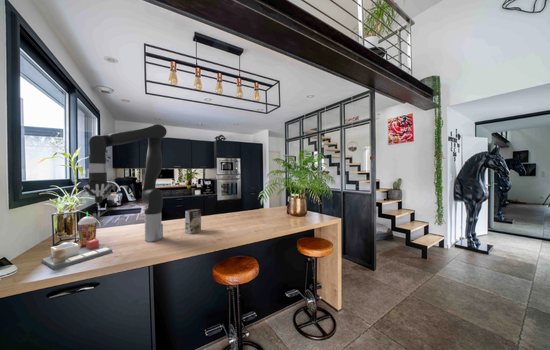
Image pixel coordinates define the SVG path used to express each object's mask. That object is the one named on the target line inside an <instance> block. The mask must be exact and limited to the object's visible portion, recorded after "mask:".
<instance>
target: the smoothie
mask: <svg viewBox="0 0 550 350" xmlns="http://www.w3.org/2000/svg"><path fill="white" fill-rule="evenodd" d="M97 222H98V221H97V220H96V218H94V217H93V216H90V215H89V212H88V211H86V216H84V217H82V218H81V219H79V221H78V223H77V229H78V237H79V239H78V240H79V245H81V247H86V241H90V240H94V239H96V237H97Z"/></svg>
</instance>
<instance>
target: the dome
mask: <svg viewBox="0 0 550 350" xmlns="http://www.w3.org/2000/svg"><path fill="white" fill-rule="evenodd" d="M57 246H58V245H57ZM70 246H73V244H72V243H71V242H70V241H69V242H68V241H67V242H66V241H65V242H61V243H60V244H59V246H58V247H57V249H58V248H66V247H70Z"/></svg>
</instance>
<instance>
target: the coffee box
mask: <svg viewBox="0 0 550 350" xmlns="http://www.w3.org/2000/svg"><path fill="white" fill-rule="evenodd" d="M184 213H185V214H184V215H185V217H184V218H185V219H184V221H185V222H184V223H185V224H184V229H185V230H184V231H185V233H186V234H188V235H192V234H195V233H200V232H201V231H202V209H200V208H198V209H197V208H195V209H188V210H185V212H184Z"/></svg>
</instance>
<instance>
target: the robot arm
mask: <svg viewBox="0 0 550 350" xmlns="http://www.w3.org/2000/svg"><path fill="white" fill-rule="evenodd" d="M167 131H168V130H167V128H166V127H165V126H164V125H162V124H161V123H160V124H159V123H157V124H153V125H151V126H148V127H143V128H139V129H134V130H133V129H132V130H131V129H130V130H126V131H125V130H124V131H118V132H112V133H109V134H104V135H103V134H102V135H99V134H95V135H92V136H90V137H89V139H88V140H87V141H88V142H87V143H88V146H89V155H88V183H87V185H85V186H83V187H82V189H83V190H84V191H85V192H86V193H87V194H88V195H90V196H92V197H94V202H95V203H96V204H101V203H102V202H103V196H106V195H107V194H108V193H109V192H110V191H111V190H112V188H113V185H111V184H109V182H108V166H107V155H106V153H107V148H109V147H113V146H120V145H125V144H130V143H133V142H138V141H142V140H145V139H147V140H148V141H147V142H148V144H147V152H146V159H145V160H146V161H145V172H144V173H145V174H144V182H143V187H142V191H141V199H142V201H144V202H145V203H148V204H147V205H148V207H146V209H144V242H148V243H149V242H151V243H152V242H156V241H160V240H162V239H163V238H164V224H163V222H162V209H163V205H164V204H163V203H164V200H163V199H164V195H163V191H162V190H160V189H159V188H156V183H157V179H158V178H159V176H160V174H161V172H162V170H163V154H162V149H161V148H162V147H161V145H162V140H163V138H165V137H166V136H167V134H168V133H167Z"/></svg>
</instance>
